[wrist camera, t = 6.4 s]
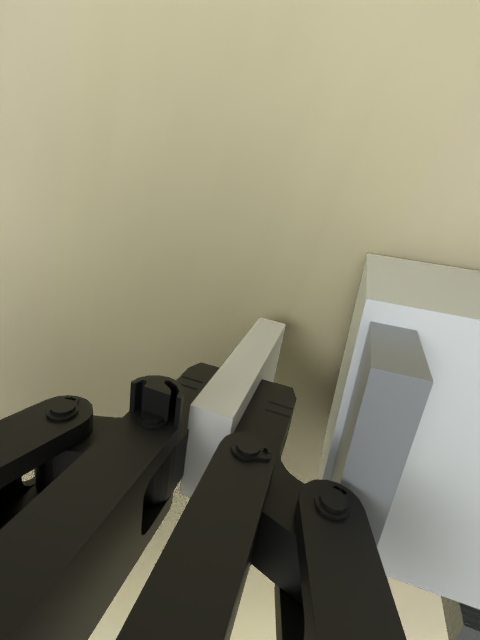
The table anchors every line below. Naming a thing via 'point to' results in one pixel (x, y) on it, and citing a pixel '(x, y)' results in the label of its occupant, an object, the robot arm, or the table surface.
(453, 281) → the white chamfered box
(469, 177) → the table surface
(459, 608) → the bay
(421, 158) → the table surface
